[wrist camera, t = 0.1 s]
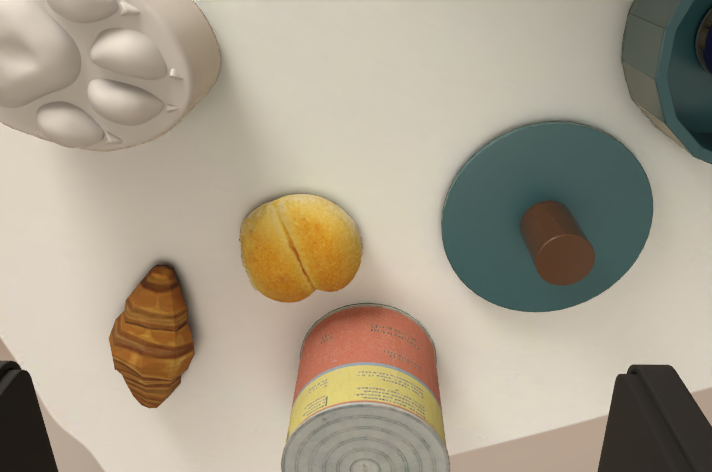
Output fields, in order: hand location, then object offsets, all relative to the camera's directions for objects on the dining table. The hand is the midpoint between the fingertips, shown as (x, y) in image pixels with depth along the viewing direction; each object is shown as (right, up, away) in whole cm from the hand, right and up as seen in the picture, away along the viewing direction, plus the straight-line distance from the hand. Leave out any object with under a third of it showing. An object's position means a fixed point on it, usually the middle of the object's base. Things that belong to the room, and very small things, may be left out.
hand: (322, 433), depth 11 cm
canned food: (+2, -7, +45) cm, 45 cm away
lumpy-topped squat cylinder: (-15, +16, +34) cm, 40 cm away
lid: (+14, +4, +38) cm, 41 cm away
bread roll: (-4, +3, +40) cm, 40 cm away
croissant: (-15, -4, +44) cm, 47 cm away
